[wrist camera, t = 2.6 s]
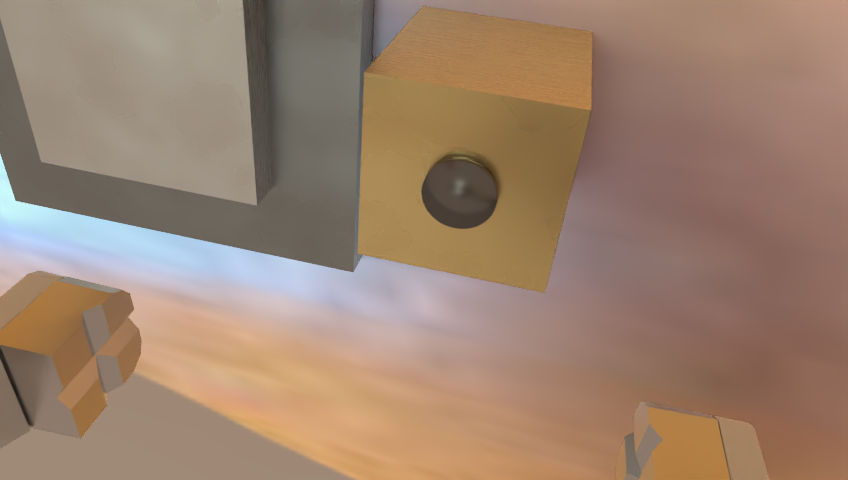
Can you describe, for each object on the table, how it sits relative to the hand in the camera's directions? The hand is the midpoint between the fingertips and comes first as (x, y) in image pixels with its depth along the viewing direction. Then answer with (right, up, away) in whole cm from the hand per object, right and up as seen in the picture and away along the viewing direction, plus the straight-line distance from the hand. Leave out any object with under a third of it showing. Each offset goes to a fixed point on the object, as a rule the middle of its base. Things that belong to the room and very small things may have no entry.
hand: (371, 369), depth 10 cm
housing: (+3, +7, +10) cm, 12 cm away
